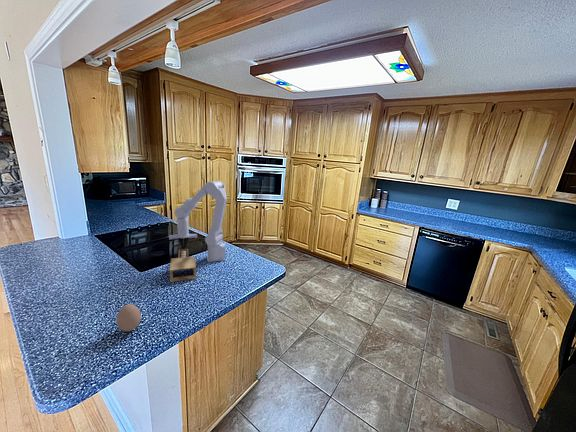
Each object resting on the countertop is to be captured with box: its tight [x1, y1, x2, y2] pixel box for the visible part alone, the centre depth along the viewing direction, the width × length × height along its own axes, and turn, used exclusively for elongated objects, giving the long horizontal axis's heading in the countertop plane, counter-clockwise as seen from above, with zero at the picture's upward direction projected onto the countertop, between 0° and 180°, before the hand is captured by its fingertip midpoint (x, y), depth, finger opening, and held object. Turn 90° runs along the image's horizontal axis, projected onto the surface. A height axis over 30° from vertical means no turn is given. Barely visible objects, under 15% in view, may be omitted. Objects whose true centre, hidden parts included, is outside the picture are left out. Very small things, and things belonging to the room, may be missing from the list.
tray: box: [177, 248, 190, 258], centre depth 125 cm, size 5×13×4 cm, turn 23°
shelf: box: [169, 256, 197, 283], centre depth 113 cm, size 11×12×6 cm
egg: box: [116, 303, 142, 332], centre depth 76 cm, size 7×7×9 cm
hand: (183, 250), depth 135 cm, fingers closed
